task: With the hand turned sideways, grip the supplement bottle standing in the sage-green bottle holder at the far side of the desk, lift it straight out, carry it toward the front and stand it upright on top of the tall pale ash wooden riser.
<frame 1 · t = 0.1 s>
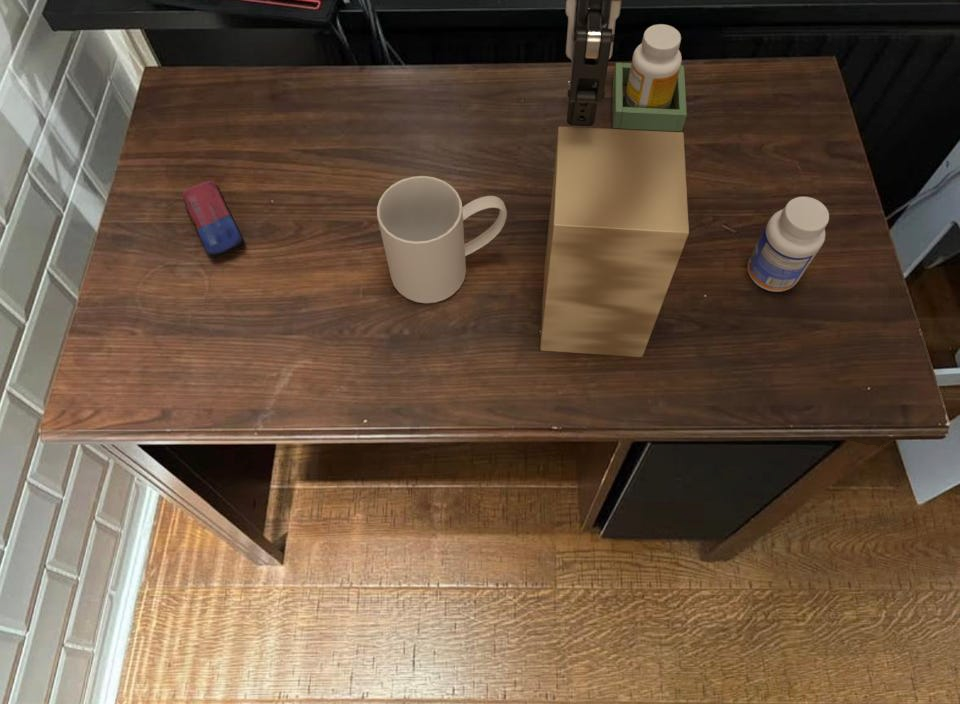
hand: (581, 85, 62), 20 cm above the table, tool pointing down, fingers open, 8 cm apart
supplement bottle: (646, 106, 88), resting in bottle holder
bottle holder: (646, 105, 88), on the table
eraser: (216, 225, 81), on the table
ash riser: (621, 176, 57), on the table
pill bottle: (771, 272, 77), on the table
mug: (448, 269, 78), on the table
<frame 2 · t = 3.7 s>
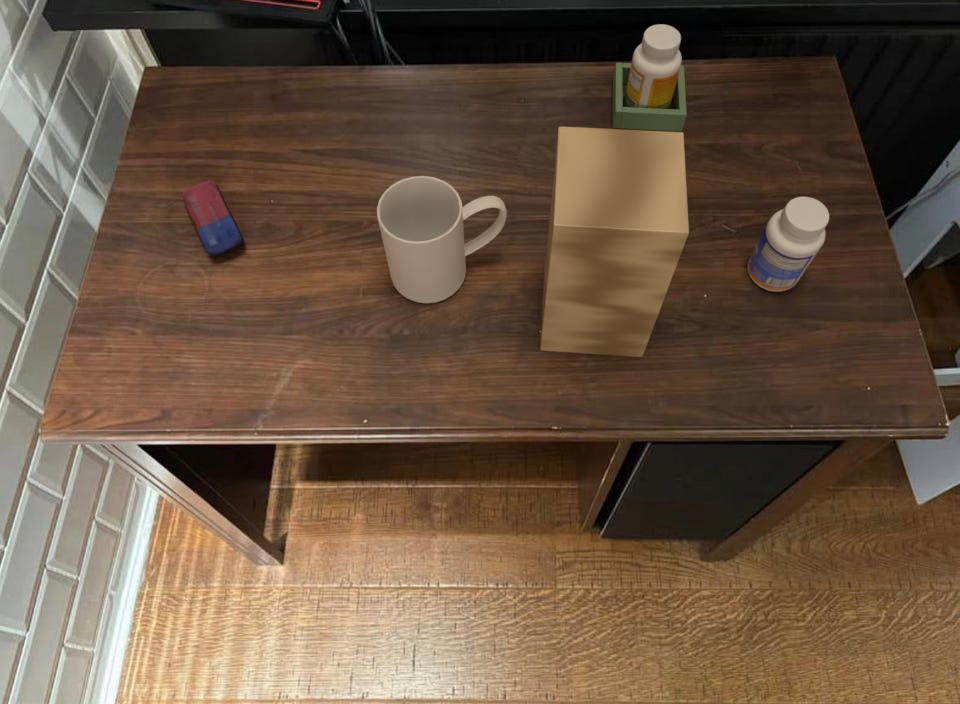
nothing on the table moved.
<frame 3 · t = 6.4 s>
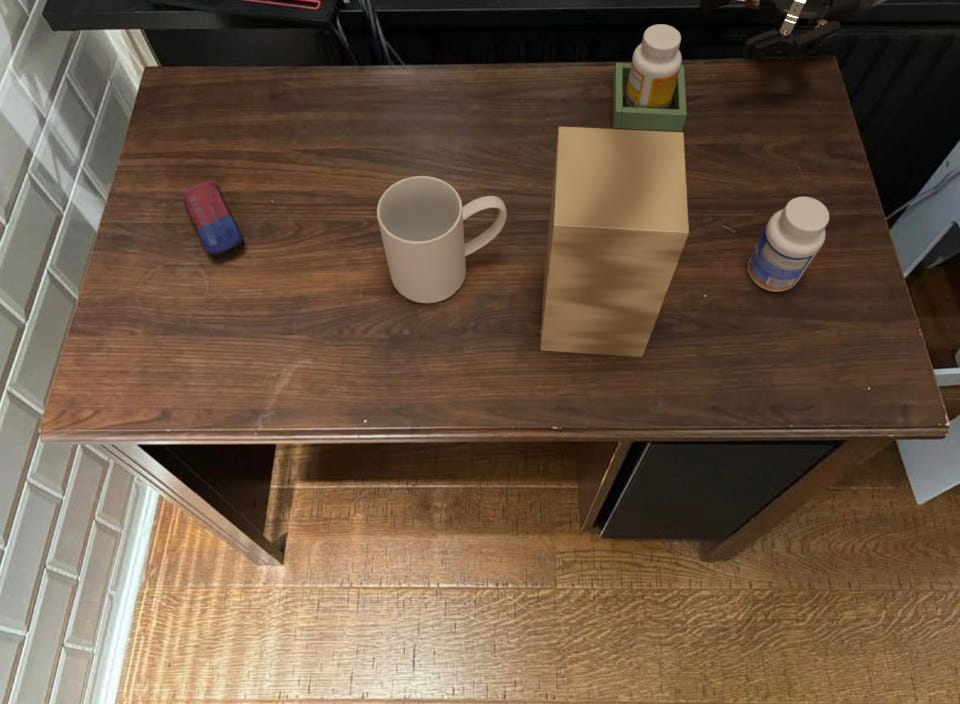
hand: (723, 26, 83), 8 cm above the table, tool horizontal, fingers open, 8 cm apart
nothing on the table moved.
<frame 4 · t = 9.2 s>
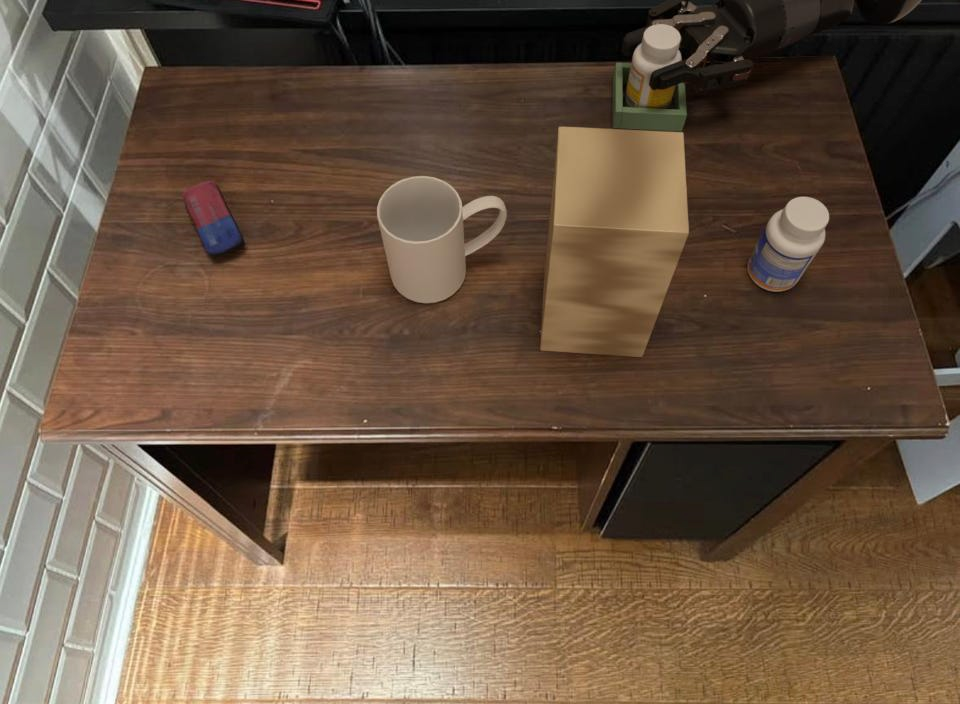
hand: (638, 63, 81), 7 cm above the table, tool horizontal, fingers closed on supplement bottle, 5 cm apart
supplement bottle: (646, 106, 88), resting in bottle holder, touching gripper
everything else where it was.
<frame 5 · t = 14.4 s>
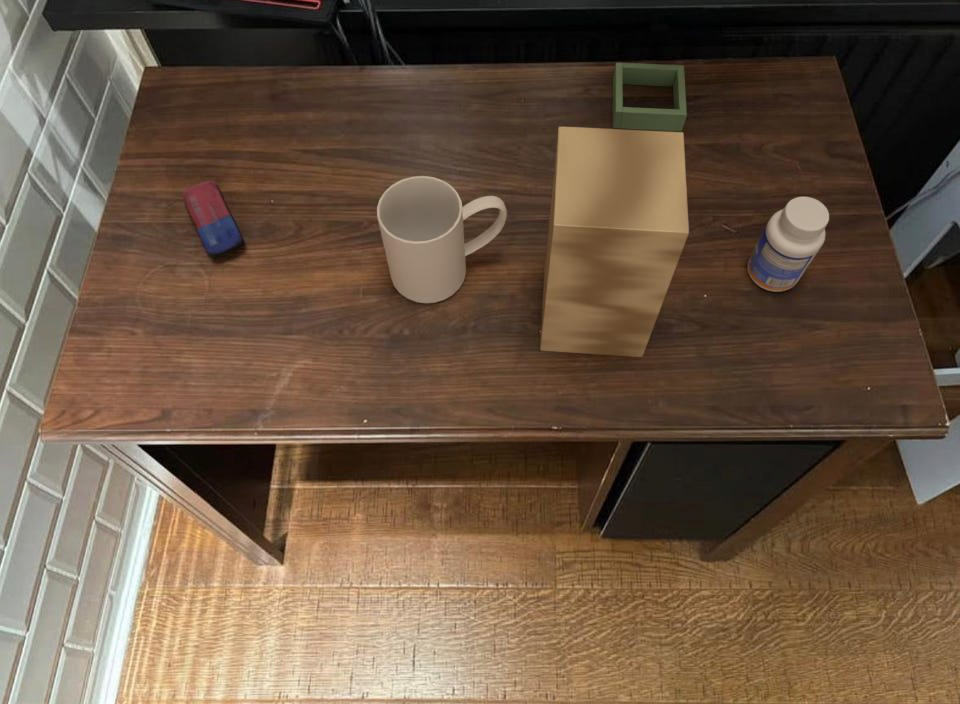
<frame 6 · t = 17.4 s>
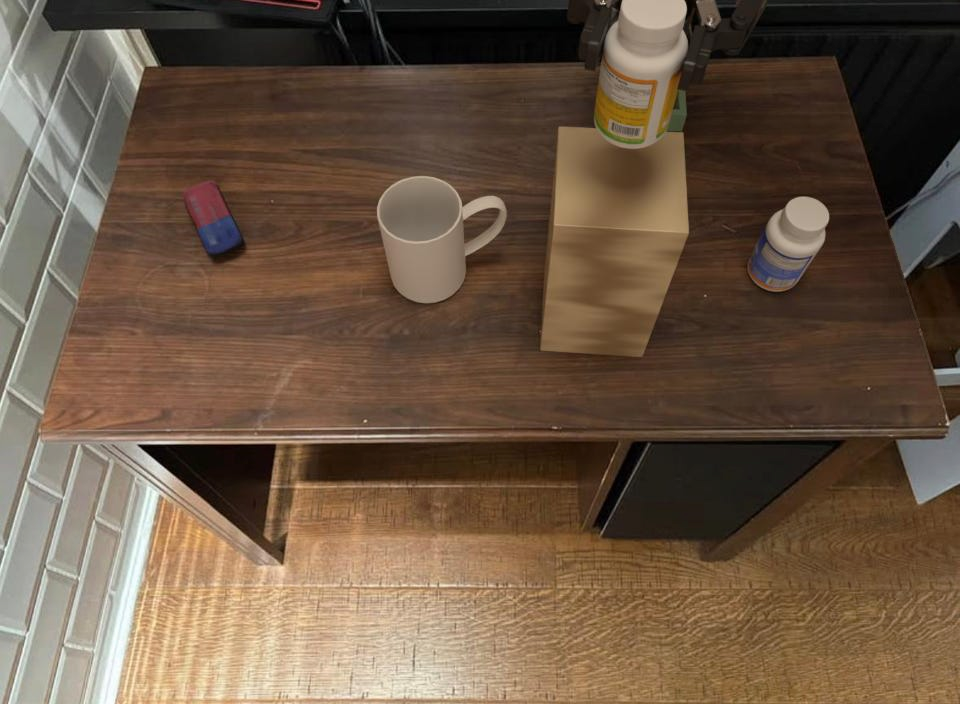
hand: (638, 69, 46), 32 cm above the table, tool horizontal, fingers closed on supplement bottle, 5 cm apart
supplement bottle: (629, 125, 54), point 24 cm above the table, touching gripper
everything else where it was.
when the fingers open (27 cm above the table, at t = 19.8 s): supplement bottle stays where it is, resting on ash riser.
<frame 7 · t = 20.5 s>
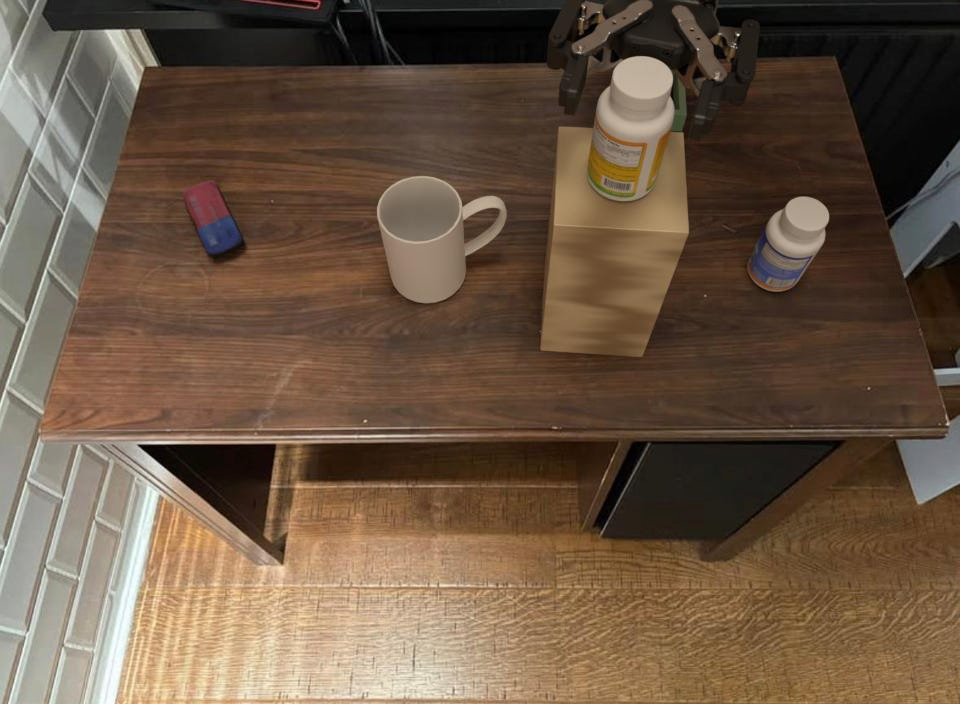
hand: (632, 119, 50), 28 cm above the table, tool horizontal, fingers open, 8 cm apart
supplement bottle: (620, 177, 58), point 20 cm above the table, touching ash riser
everything else where it was.
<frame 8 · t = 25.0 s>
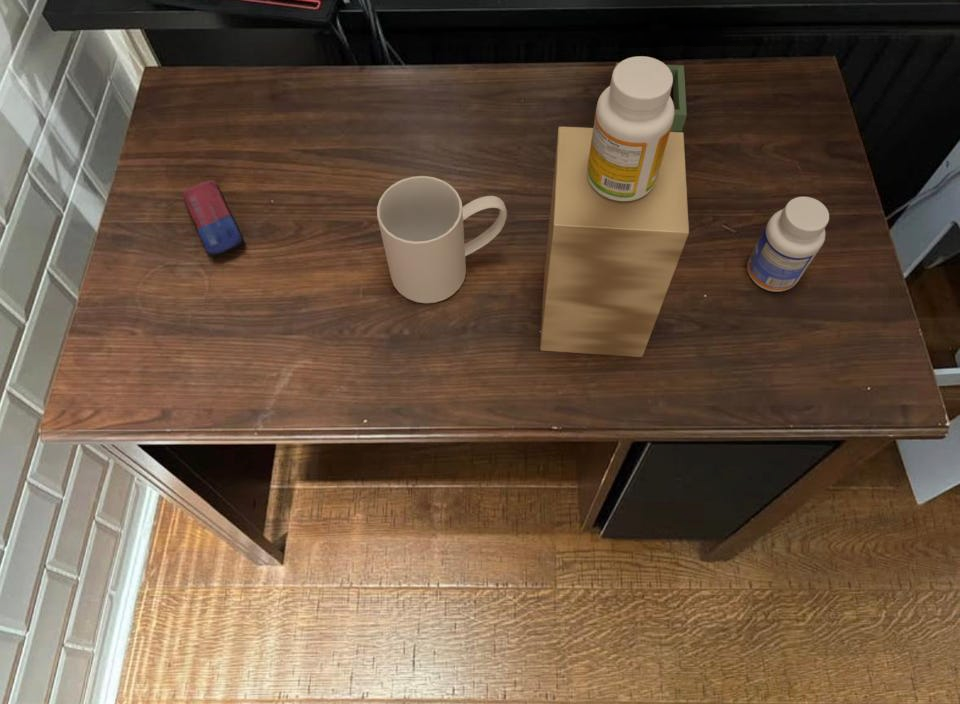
nothing on the table moved.
at the end: supplement bottle inside the target area on the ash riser (0.1 cm from its centre), point 0.0 cm above the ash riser's base; supplement bottle tilted 0°; supplement bottle touching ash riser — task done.
